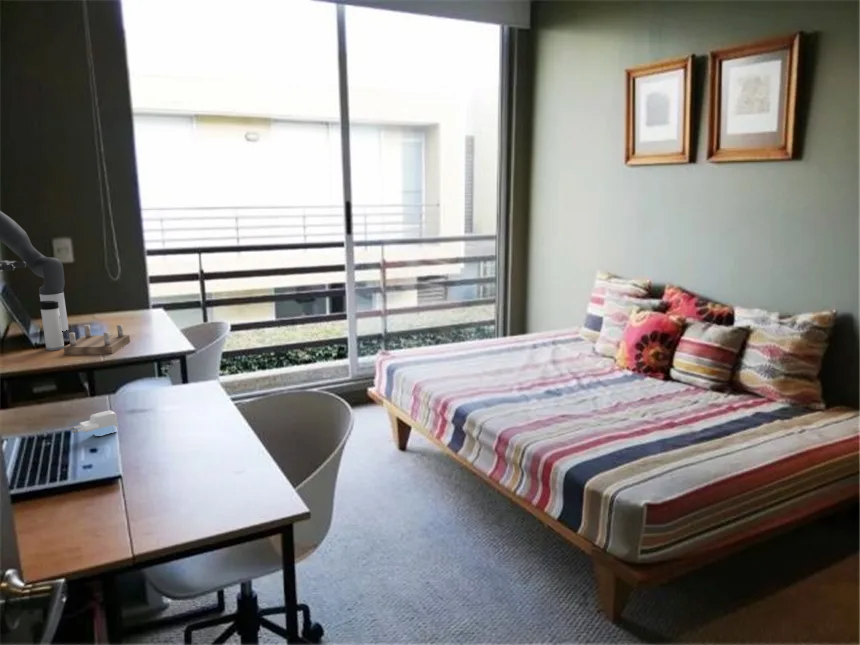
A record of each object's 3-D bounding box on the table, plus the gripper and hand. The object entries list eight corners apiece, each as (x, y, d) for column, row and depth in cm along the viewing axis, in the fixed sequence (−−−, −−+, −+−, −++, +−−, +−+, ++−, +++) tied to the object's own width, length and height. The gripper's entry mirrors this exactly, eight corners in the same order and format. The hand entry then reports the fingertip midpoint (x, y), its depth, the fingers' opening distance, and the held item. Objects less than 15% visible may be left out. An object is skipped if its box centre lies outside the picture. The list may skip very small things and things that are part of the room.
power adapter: (75, 445, 161) (72, 424, 160) (68, 440, 164) (66, 419, 163) (120, 433, 169) (117, 412, 167) (113, 428, 172) (110, 408, 171)
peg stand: (64, 354, 242) (62, 334, 241) (85, 342, 260) (83, 324, 258) (112, 353, 244) (110, 334, 242) (130, 342, 261) (128, 323, 259)
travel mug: (42, 349, 249) (35, 300, 245) (58, 345, 255) (51, 298, 250) (51, 351, 246) (44, 302, 242) (67, 347, 252) (61, 299, 247)
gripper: (-39, 259, 231) (7, 258, 232) (-16, 254, 245) (27, 254, 246) (-36, 278, 233) (10, 278, 234) (-13, 273, 246) (30, 272, 248)
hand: (19, 266), depth 240 cm, fingers open, 8 cm apart
